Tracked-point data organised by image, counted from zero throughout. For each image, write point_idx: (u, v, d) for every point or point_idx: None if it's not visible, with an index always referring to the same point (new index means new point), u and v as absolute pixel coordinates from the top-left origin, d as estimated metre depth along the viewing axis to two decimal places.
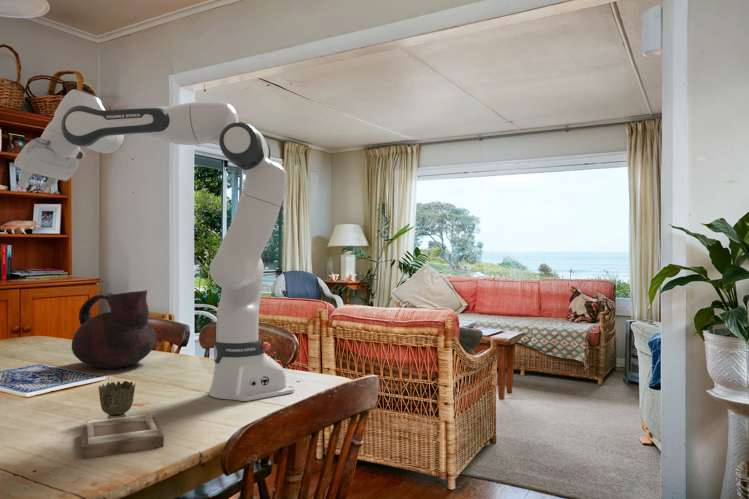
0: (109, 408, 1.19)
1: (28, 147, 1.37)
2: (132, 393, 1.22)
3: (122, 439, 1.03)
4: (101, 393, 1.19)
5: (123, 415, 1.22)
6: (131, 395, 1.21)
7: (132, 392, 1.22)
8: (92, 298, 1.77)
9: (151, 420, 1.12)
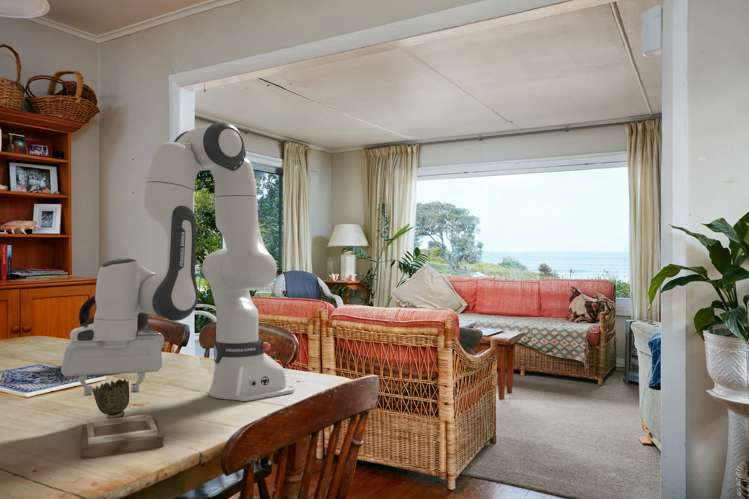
0: (106, 408, 1.19)
1: None
2: (127, 390, 1.22)
3: (122, 439, 1.03)
4: (95, 395, 1.19)
5: (122, 413, 1.21)
6: (126, 392, 1.21)
7: (127, 389, 1.21)
8: (92, 298, 1.77)
9: (151, 420, 1.12)
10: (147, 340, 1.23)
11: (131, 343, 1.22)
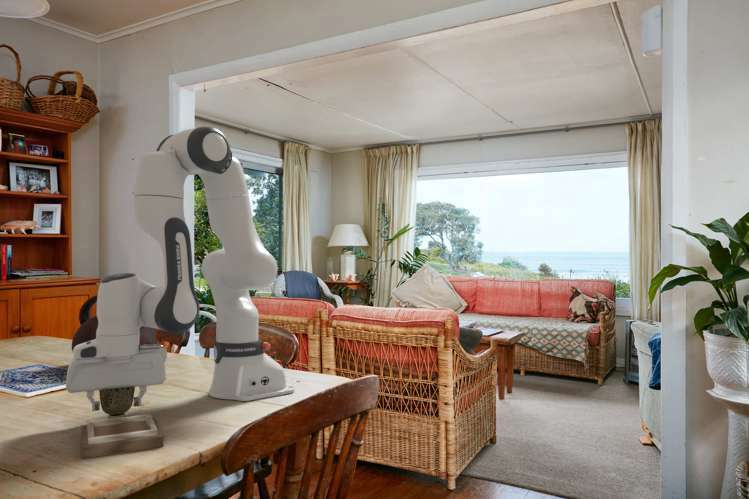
0: (110, 408, 1.19)
1: None
2: (132, 393, 1.22)
3: (122, 439, 1.03)
4: (101, 393, 1.19)
5: (123, 415, 1.22)
6: (131, 395, 1.21)
7: (132, 392, 1.22)
8: (92, 298, 1.77)
9: (151, 420, 1.12)
10: (150, 354, 1.24)
11: (134, 357, 1.22)
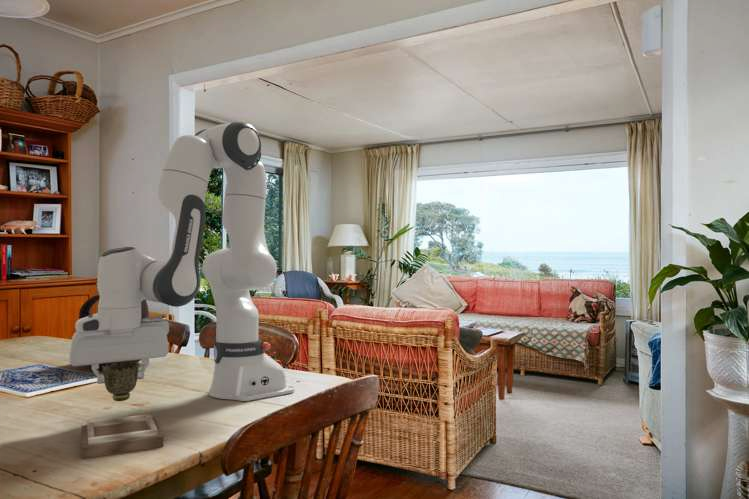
0: (114, 388, 1.19)
1: (168, 330, 1.27)
2: (136, 372, 1.22)
3: (122, 439, 1.03)
4: (105, 373, 1.20)
5: (128, 394, 1.22)
6: (135, 374, 1.22)
7: (136, 371, 1.22)
8: (92, 298, 1.77)
9: (151, 420, 1.12)
10: (152, 327, 1.24)
11: (136, 330, 1.22)
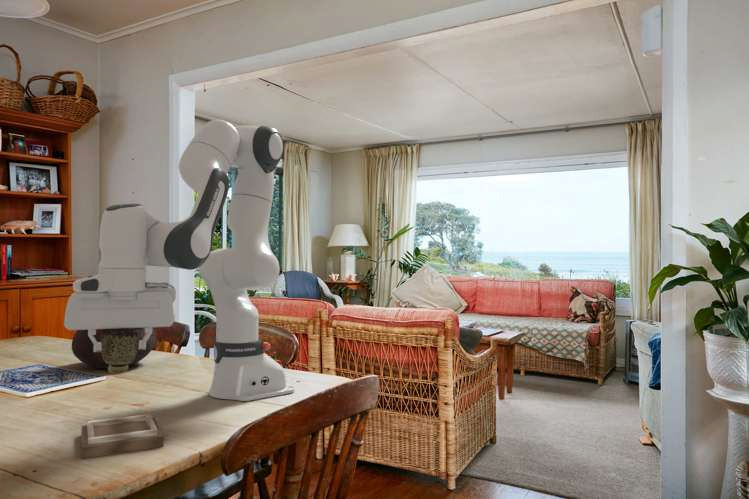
0: (111, 357, 1.07)
1: (174, 297, 1.16)
2: (137, 343, 1.11)
3: (122, 439, 1.03)
4: (103, 340, 1.08)
5: (125, 367, 1.10)
6: (135, 345, 1.10)
7: (137, 342, 1.10)
8: None
9: (151, 420, 1.12)
10: (157, 292, 1.13)
11: (140, 295, 1.11)
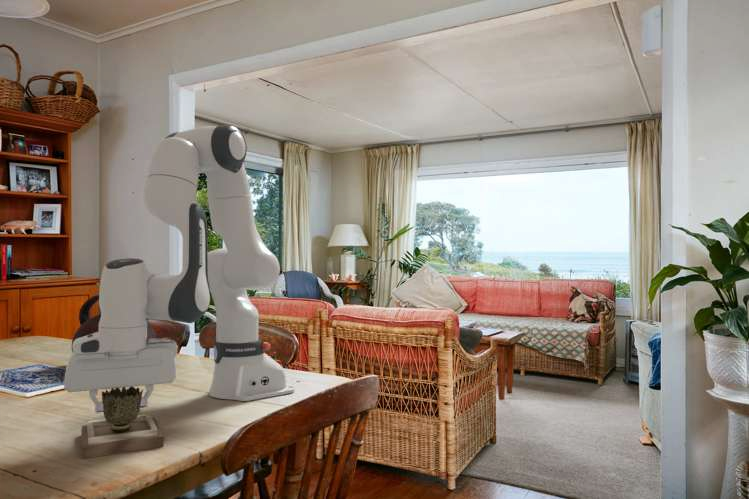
0: (113, 417, 1.05)
1: (176, 352, 1.14)
2: (139, 401, 1.09)
3: (122, 439, 1.03)
4: (104, 400, 1.06)
5: (128, 425, 1.08)
6: (138, 403, 1.08)
7: (139, 400, 1.09)
8: (92, 298, 1.77)
9: (151, 420, 1.12)
10: (159, 349, 1.11)
11: (141, 353, 1.09)
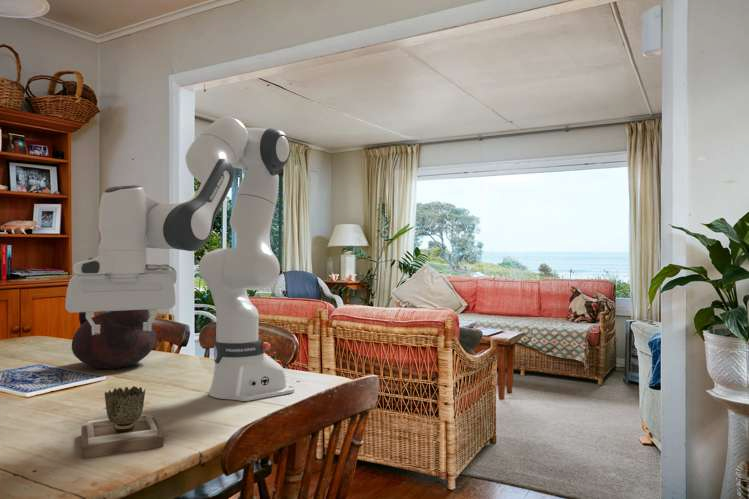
0: (117, 417, 1.06)
1: (175, 279, 1.15)
2: (142, 400, 1.09)
3: (122, 439, 1.03)
4: (107, 400, 1.06)
5: (132, 425, 1.09)
6: (141, 402, 1.09)
7: (142, 399, 1.09)
8: None
9: (151, 420, 1.12)
10: (158, 274, 1.12)
11: (141, 277, 1.10)
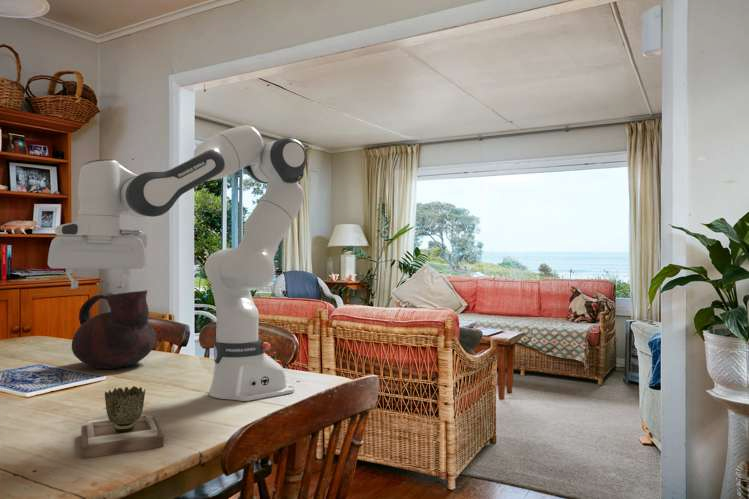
0: (117, 417, 1.06)
1: (146, 243, 1.31)
2: (142, 400, 1.09)
3: (122, 439, 1.03)
4: (107, 400, 1.06)
5: (132, 425, 1.09)
6: (141, 402, 1.09)
7: (142, 399, 1.09)
8: (92, 298, 1.77)
9: (151, 420, 1.12)
10: (130, 238, 1.28)
11: (115, 240, 1.26)
